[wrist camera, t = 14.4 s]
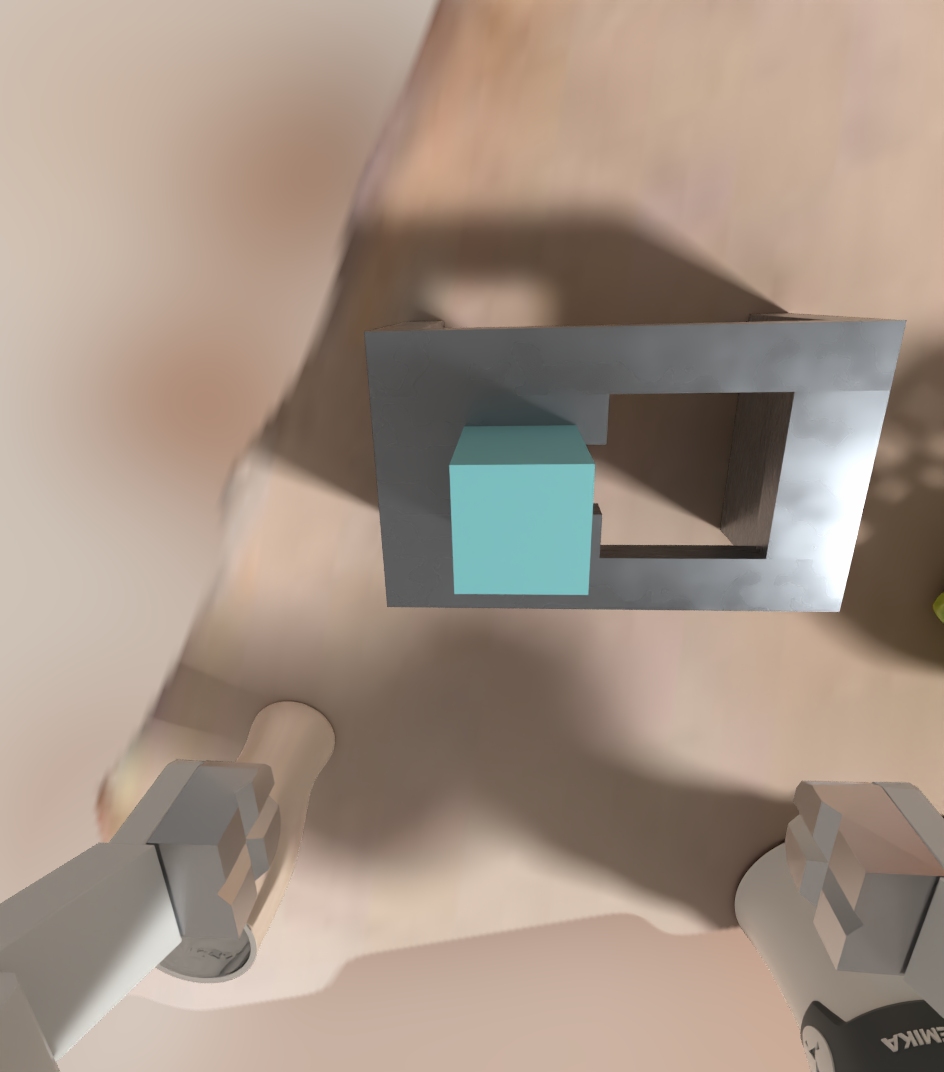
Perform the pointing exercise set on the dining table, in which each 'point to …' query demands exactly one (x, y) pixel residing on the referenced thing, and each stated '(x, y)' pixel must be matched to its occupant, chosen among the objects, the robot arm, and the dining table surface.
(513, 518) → the peg
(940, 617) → the flower pot
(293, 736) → the beer glass
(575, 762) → the dining table surface
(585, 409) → the keyhole bracket
